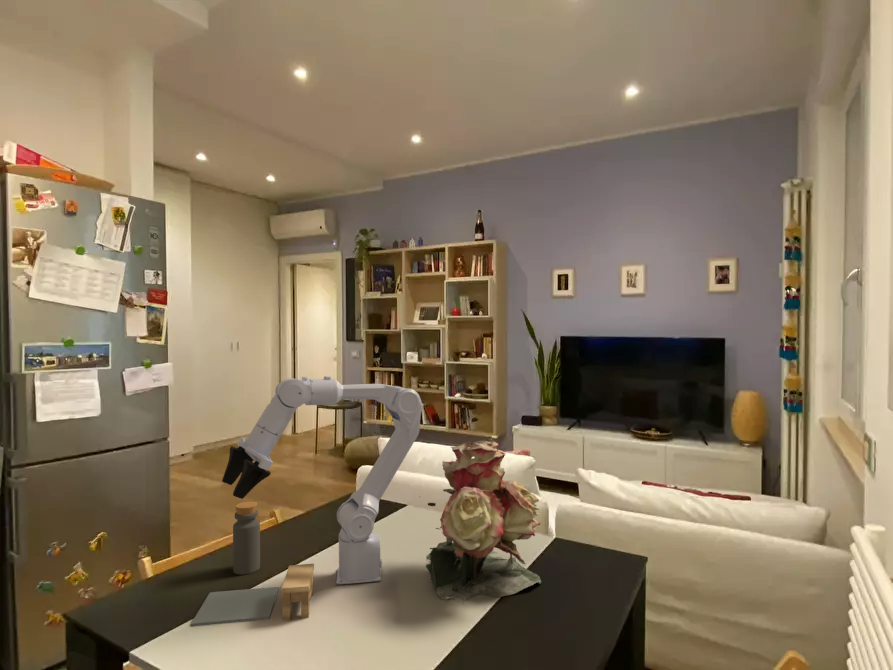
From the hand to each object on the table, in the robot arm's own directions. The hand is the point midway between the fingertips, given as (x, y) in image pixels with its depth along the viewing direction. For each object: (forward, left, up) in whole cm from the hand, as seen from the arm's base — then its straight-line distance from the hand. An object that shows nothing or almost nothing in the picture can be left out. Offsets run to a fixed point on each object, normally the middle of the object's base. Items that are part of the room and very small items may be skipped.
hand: (231, 489), depth 104 cm
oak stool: (-14, +4, -23) cm, 27 cm away
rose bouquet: (-54, -3, -23) cm, 58 cm away
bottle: (0, -15, -23) cm, 27 cm away
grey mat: (-2, +2, -23) cm, 23 cm away
